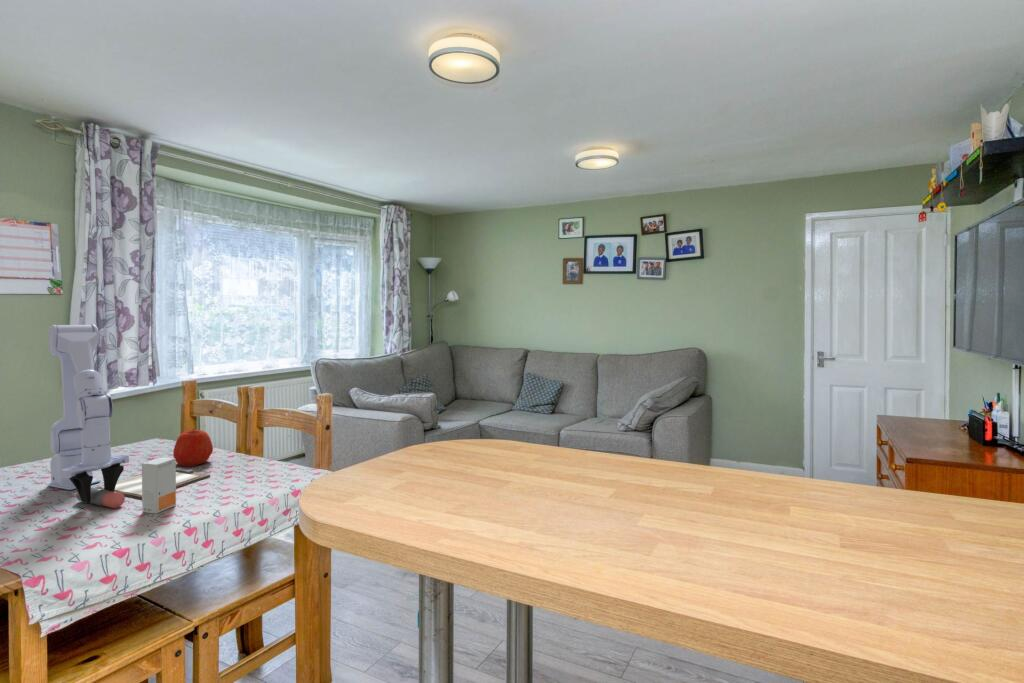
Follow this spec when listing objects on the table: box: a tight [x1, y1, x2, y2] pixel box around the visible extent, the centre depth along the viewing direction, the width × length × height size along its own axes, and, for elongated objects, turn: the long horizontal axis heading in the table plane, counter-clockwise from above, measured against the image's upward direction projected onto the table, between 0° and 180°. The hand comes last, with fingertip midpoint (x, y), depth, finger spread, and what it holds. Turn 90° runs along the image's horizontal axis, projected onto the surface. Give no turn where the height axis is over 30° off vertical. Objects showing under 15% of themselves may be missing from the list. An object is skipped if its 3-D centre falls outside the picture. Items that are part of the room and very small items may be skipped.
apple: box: [172, 429, 214, 467], centre depth 171 cm, size 11×11×11 cm
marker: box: [76, 486, 126, 509], centre depth 136 cm, size 13×4×4 cm, turn 70°
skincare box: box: [141, 457, 177, 515], centre depth 133 cm, size 6×4×12 cm
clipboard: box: [95, 467, 211, 500], centre depth 152 cm, size 18×20×1 cm
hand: (97, 498), depth 135 cm, fingers open, 5 cm apart
